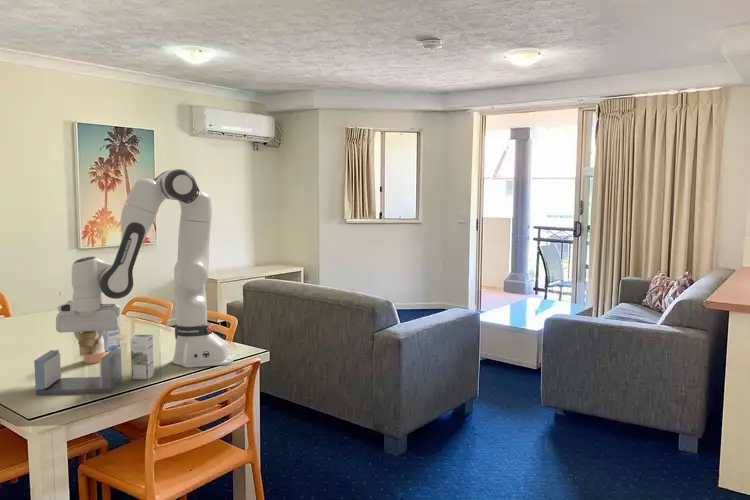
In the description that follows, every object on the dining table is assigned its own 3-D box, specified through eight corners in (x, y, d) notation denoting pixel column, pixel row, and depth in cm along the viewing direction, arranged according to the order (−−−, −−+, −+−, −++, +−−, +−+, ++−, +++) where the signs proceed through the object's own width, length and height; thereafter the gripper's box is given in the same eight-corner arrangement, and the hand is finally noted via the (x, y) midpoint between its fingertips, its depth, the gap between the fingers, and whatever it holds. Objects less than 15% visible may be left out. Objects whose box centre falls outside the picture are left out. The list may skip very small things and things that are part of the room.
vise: (121, 380, 195) (120, 348, 194) (110, 393, 183) (109, 358, 182) (52, 382, 192) (50, 350, 191) (35, 395, 180) (34, 360, 179)
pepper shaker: (85, 358, 219) (83, 309, 217) (106, 357, 222) (104, 307, 220) (82, 364, 213) (80, 312, 211) (104, 362, 215) (102, 311, 213)
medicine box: (108, 351, 230) (107, 330, 229) (98, 350, 231) (97, 329, 230) (120, 346, 237) (120, 325, 237) (111, 345, 238) (110, 325, 237)
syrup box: (154, 374, 201) (153, 333, 200) (148, 380, 196) (147, 338, 194) (137, 374, 201) (136, 333, 200) (131, 380, 195) (129, 338, 194)
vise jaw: (61, 377, 192) (60, 349, 191) (45, 389, 180) (44, 360, 179) (52, 377, 192) (50, 350, 191) (35, 389, 180) (34, 360, 179)
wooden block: (100, 348, 205) (99, 328, 204) (92, 354, 197) (91, 334, 196) (88, 348, 204) (87, 328, 203) (79, 354, 196) (78, 334, 195)
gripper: (122, 301, 203) (124, 340, 204) (60, 303, 200) (62, 342, 202) (116, 305, 197) (118, 345, 198) (52, 307, 194) (55, 347, 196)
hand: (89, 343), depth 200 cm, fingers closed on wooden block, 4 cm apart
